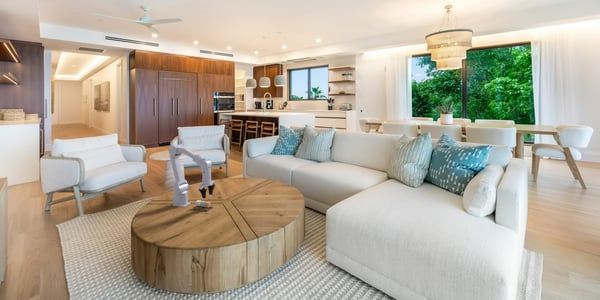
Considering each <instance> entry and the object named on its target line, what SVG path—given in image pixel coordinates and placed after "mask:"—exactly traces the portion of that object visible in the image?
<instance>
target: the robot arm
mask: <svg viewBox="0 0 600 300" xmlns="http://www.w3.org/2000/svg"><path fill="white" fill-rule="evenodd" d="M168 152H169V159H170V164H171V168H172V172H173V176H174V180H175V181H174V183H173V185H172V186H173V195H172V201H173V204H172V206H174V207H178V208H179V207H180V208H184V207H187V206H188V205H191V202H188V201H189V200H188V191H189V189H190V185H189V183H188V181H187V179H184V175H183V170H182V167H181V162H180V159H179V158H180V156H181V155H182V154H183V155H186V156H187V157H189V158H191V159H192V162H194V163H195V164H196V165H199V167H200V170H201V175H202V176H201V177H202V179H201V181H202V184H201V185H200V186H199V187H198V192H199V193H200V194H201V197H202V199H206V198H207V191H208V195H209V196H212V195H213V193H214V190H215V187H216V184H215V180H212V167H213V162H212V160H211V159H209V158H208V159H207V158H206V157H203V156H202V155H201V154H199V153H194V152H193V151H192V150H191V149H189V148H188V147H187V145H185V144H184V143H178V144H174V145H171V146H170V147H169V148H168ZM206 187H207V188H206Z"/></svg>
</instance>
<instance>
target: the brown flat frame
mask: <svg viewBox="0 0 600 300" xmlns="http://www.w3.org/2000/svg"><path fill="white" fill-rule="evenodd" d="M213 209H214V205H211V206H210V207H205V206H204V207H202V206H196V205H195V206H193V210H197V211H203V212H209V211H211V210H213Z"/></svg>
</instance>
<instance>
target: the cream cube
mask: <svg viewBox="0 0 600 300" xmlns="http://www.w3.org/2000/svg"><path fill="white" fill-rule="evenodd" d="M201 201H202V200H200V199H199V200H198V199H197V200H196V201H195V206H200V202H201Z"/></svg>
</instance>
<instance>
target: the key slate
mask: <svg viewBox="0 0 600 300" xmlns="http://www.w3.org/2000/svg"><path fill="white" fill-rule="evenodd" d="M205 202H207V201H206V200H201V202H200V206H202V207H204V206H205Z"/></svg>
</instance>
